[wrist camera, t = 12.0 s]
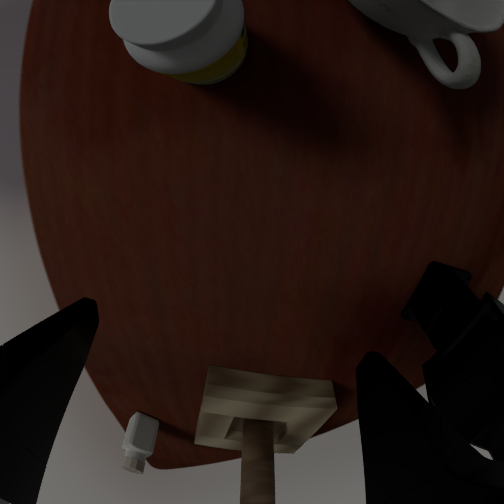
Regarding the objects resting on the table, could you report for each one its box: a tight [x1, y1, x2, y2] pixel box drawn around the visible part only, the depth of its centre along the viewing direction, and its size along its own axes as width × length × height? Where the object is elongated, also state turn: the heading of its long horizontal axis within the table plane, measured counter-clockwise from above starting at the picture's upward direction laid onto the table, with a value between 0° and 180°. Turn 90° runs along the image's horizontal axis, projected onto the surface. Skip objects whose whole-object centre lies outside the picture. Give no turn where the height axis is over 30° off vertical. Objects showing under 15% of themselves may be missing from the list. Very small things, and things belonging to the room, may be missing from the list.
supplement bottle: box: [109, 0, 248, 85], centre depth 10 cm, size 5×5×10 cm
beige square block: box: [194, 365, 337, 453], centre depth 30 cm, size 14×14×4 cm
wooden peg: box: [240, 418, 275, 504], centre depth 25 cm, size 4×4×12 cm
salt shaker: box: [122, 412, 159, 474], centre depth 32 cm, size 4×4×10 cm
